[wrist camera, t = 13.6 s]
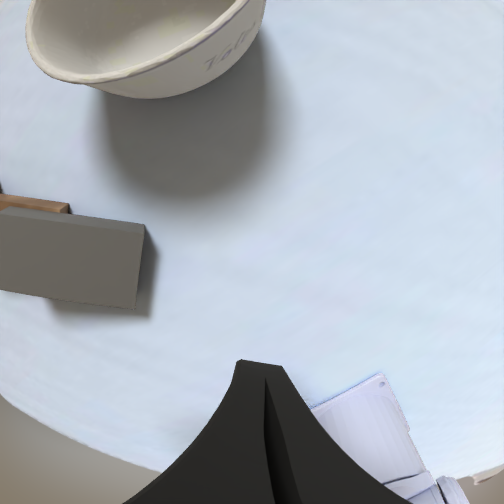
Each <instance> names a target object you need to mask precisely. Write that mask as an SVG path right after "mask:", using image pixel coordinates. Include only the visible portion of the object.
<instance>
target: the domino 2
mask: <svg viewBox="0 0 504 504" xmlns="http://www.w3.org/2000/svg"><path fill="white" fill-rule="evenodd" d="M144 234H145V232H144V224H138V223H131V222H124V221H117V220H110V219H102V218H95V217H88V216H81V215H73V214H66V213H59V212H51V211H44V210H36V209H28V208H21V207H13V206H9V207H7V208H5V209H3V210H1V211H0V290H4V291H10V292H15V293H21V294H27V295H32V296H38V297H45V298H51V299H57V300H64V301H71V302H78V303H86V304H93V305H101V306H109V307H118V308H127V309H135V306H136V296H137V287H138V278H139V270H140V262H141V255H142V247H143V241H144Z"/></svg>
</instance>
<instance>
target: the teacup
mask: <svg viewBox="0 0 504 504" xmlns="http://www.w3.org/2000/svg"><path fill="white" fill-rule="evenodd" d="M265 4H266V0H32V1H31V4H30V7H29V10H28V15H27V20H26V28H25V30H26V43H27V47H28V50H29V52H30V55H31V57H32V59H33V61H34V62H35V64H36V65H37V66H38V67H39V68H40V69H41V70H42V71H43V72H44V73H46V74H47V75H49V76H50V77H52V78H54V79H57V80H60V81H64V82H68V83H73V84H84V85H87V86H90V87H93V88H96V89H99V90H102V91H106V92H109V93H112V94H116V95H120V96H125V97H131V98H140V99H155V98H164V97H170V96H175V95H179V94H183V93H186V92H189V91H191V90H194V89H196V88H198V87H201V86H203V85H205V84H207V83H208V82H210V81H212V80H214V79H215V78H217V77H219V76H220V75H221V74H223V73H224V72H226V71H227V70H228V69H229V68H230V67H231V66H233V65H234V64H235V63H236V62H237V61H238V60H239V59H240V58H241V57H242V55H243V54H244V53H245V52H246V50H247V49H248V48H249V47H250V45H251V43H252V42H253V40H254V38H255V37H256V34H257V32H258V30H259V28H260V25H261V22H262V19H263V15H264V10H265Z"/></svg>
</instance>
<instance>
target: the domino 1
mask: <svg viewBox="0 0 504 504" xmlns="http://www.w3.org/2000/svg"><path fill="white" fill-rule="evenodd" d="M9 206H13V207H21V208H28V209H36V210H44V211H51V212H59V213H66V214H68V207H69V203H62V202H55V201H49V200H42V199H35V198H28V197H21V196H14V195H6V194H0V211H1V210H3V209H5V208H7V207H9Z"/></svg>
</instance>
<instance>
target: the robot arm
mask: <svg viewBox="0 0 504 504" xmlns="http://www.w3.org/2000/svg"><path fill="white" fill-rule="evenodd" d="M381 382H382V383H381ZM380 383H381V384H380ZM409 430H410V428H409V425H408V423H407V421H406V419H405V417H404V415H403V413H402V410H401V408H400V406H399V404H398V402H397V400H396V398H395V396H394V394H393V391H392V389H391V387H390V385H389V383H388V381H387V379H386V377H385V375H384V374H383V373H378V374H376V375H374V376H373V377H371V378H369V379H368V380H366V381H364V382H362V383H361V384H359V385H357V386H355V387H353V388H352V389H350V390H348V391H346V392H344V393H342V394H340V395H338V396H337V397H335V398H333V399H331V400H329V401H327V402H325V403H323V404H321V405H319V406H317V407H315V408H312V409H309V408H308V406H307V405H306V403H305V402H304V400H303V399H302V397H301V396H300V394H299V393H298V391H297V390H296V388H295V386H294V385H293V383H292V382H291V380H290V378H289V377H288V375H287V373H286V372H285V370H284V369H283V367H282V366H279V365H272V364H266V363H260V362H254V361H248V360H242V359H241V360H239V361H237V362H236V366H235V370H234V374H233V378H232V382H231V384H230V386H229V388H228V390H227V392H226V394H225V396H224V398H223V400H222V402H221V403H220V405H219V407H218V408H217V410H216V411H215V413H214V414H213V416H212V417H211V419H210V420H209V422H208V423H207V425H206V426H205V427H204V429H203V430H202V431H201V432H200V434H199V435H198V436H197V437H196V439H195V440H194V441H193V442H192V443H191V445H190V446H189V447H188V448H187V449H186V450H185V451H184V452H183V453H182V454H181V455H180V456H179V457H178V458H177V459H176V460H175V462H174V463H173V464H172V465H170V466H169V467H168V468H167V469H166V470H165V471H164V472H163V473H162V474H161V475H160V476H158V477H157V478H156V479H155V480H153V481H152V482H151V483H150V484H149V485H147V486H146V487H145V488H143V489H142V490H141V491H140V492H138V493H137V494H136V495H135V496H133V497H132V498H130V499H129V500H127V501H126V502H124V503H123V504H469V502H468V500H467V498H466V496H465V494H464V492H463V490H462V489H461V487H460V486H459V484H458V482H457V481H456V480H455V478H452V477H446V476H441V477H439V478H438V479H436V481H437V484H438V486H439V489H440V492H439V490H438V488H437V487H436V484H435V482H434V480H433V478H432V476H431V474H430V472H429V470H426V468H425V466H424V464H423V461H422V459H421V457H420V455H419V453H418V451H417V449H416V447H415V445H414V443H413V441H412V439H411V437H410V435H409V434H408V432H409ZM440 493H441V495H442V496H441V495H440ZM442 498H443V499H442ZM443 500H444V501H443Z"/></svg>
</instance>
